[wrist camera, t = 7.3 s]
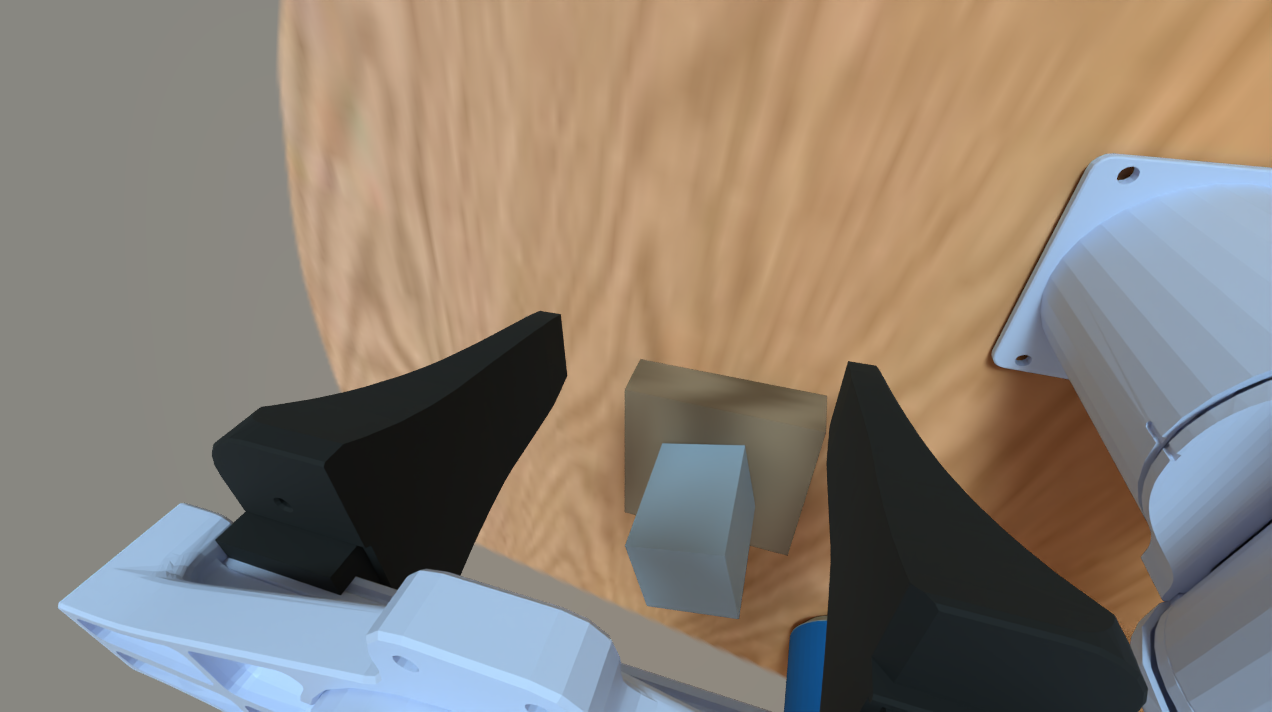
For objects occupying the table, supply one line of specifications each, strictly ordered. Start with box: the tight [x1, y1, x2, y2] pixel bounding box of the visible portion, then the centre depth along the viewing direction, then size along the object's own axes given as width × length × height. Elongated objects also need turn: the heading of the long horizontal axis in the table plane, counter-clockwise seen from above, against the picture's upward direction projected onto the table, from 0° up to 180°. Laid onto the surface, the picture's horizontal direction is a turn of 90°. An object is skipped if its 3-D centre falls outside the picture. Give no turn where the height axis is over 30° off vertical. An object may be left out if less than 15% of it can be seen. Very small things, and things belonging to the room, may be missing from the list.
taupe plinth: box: [625, 359, 827, 556], centre depth 28 cm, size 9×9×3 cm
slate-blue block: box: [625, 443, 755, 619], centre depth 24 cm, size 4×4×6 cm
